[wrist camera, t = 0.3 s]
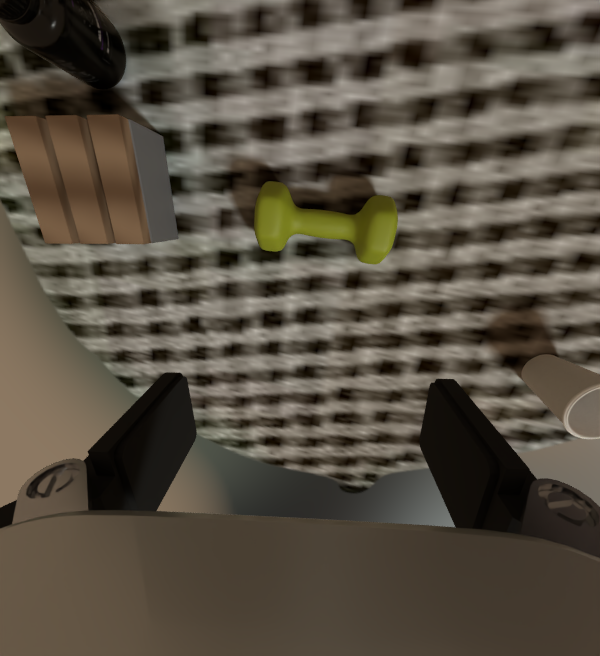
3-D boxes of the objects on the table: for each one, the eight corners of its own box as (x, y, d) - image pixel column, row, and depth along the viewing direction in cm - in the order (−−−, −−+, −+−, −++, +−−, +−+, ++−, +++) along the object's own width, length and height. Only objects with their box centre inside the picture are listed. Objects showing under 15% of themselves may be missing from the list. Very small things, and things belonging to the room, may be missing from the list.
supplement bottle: (140, 52, 32) (43, -38, 20) (109, 105, 34) (6, 51, 22) (86, -5, 30) (-50, -136, 19) (58, 54, 32) (-80, -32, 21)
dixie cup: (534, 402, 45) (590, 450, 36) (500, 373, 44) (549, 416, 34) (583, 367, 42) (657, 409, 33) (548, 335, 41) (616, 370, 32)
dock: (63, 137, 35) (10, 121, 29) (162, 136, 34) (130, 119, 28) (89, 238, 39) (48, 242, 33) (178, 238, 39) (152, 242, 33)
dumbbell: (260, 245, 39) (248, 252, 32) (264, 181, 36) (252, 173, 29) (377, 262, 39) (390, 272, 32) (392, 199, 36) (409, 195, 29)
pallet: (19, 121, 29) (4, 116, 28) (128, 119, 28) (118, 114, 27) (56, 242, 33) (45, 243, 32) (151, 242, 33) (143, 244, 31)
